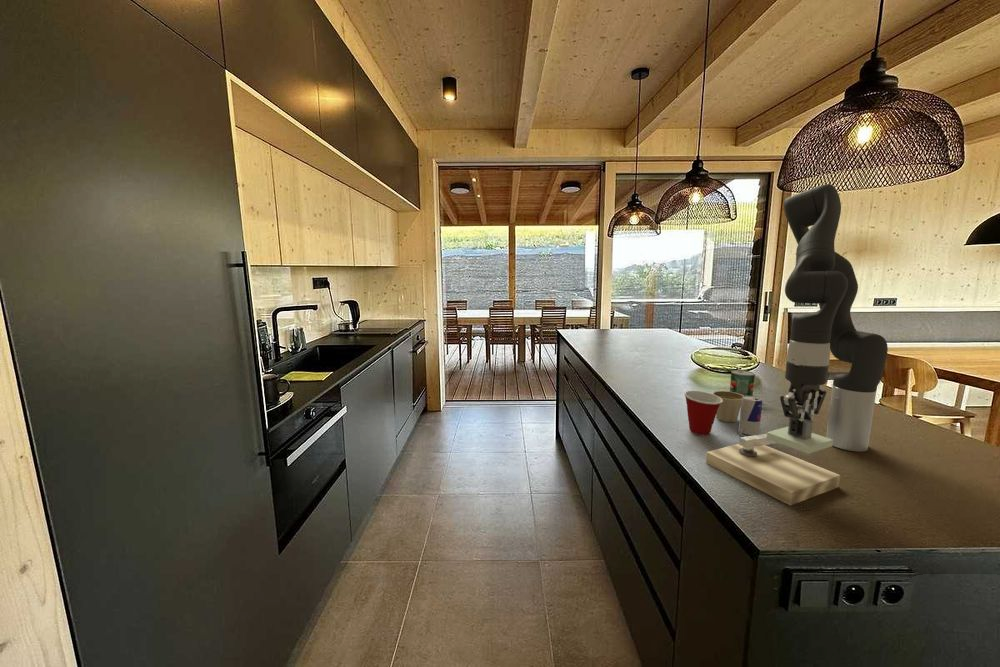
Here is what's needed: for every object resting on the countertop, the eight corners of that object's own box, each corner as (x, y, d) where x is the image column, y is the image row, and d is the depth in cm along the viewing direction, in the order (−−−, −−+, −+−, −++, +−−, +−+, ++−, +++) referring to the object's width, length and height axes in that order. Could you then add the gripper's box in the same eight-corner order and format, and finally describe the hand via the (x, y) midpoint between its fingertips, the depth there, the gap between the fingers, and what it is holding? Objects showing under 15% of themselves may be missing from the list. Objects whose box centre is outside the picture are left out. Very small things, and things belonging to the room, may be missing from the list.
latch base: (751, 450, 111) (752, 438, 110) (838, 487, 91) (840, 472, 91) (705, 462, 104) (706, 449, 103) (790, 505, 84) (792, 490, 84)
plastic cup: (716, 442, 116) (720, 403, 114) (678, 433, 122) (680, 396, 121) (722, 430, 124) (725, 394, 122) (686, 422, 131) (688, 388, 129)
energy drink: (762, 439, 117) (765, 401, 115) (742, 438, 118) (746, 400, 116) (754, 432, 122) (758, 395, 121) (735, 431, 124) (738, 394, 122)
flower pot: (712, 422, 131) (714, 397, 130) (709, 412, 140) (711, 389, 138) (744, 426, 128) (747, 400, 126) (739, 416, 136) (741, 392, 135)
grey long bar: (738, 449, 103) (739, 437, 102) (768, 445, 105) (769, 432, 105) (745, 453, 100) (747, 440, 100) (776, 449, 103) (777, 436, 102)
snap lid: (789, 431, 96) (792, 410, 96) (832, 446, 88) (835, 422, 87) (766, 438, 93) (768, 416, 92) (808, 453, 85) (811, 429, 84)
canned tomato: (757, 402, 150) (759, 375, 148) (736, 402, 150) (738, 375, 148) (744, 396, 158) (746, 369, 156) (724, 396, 158) (727, 369, 156)
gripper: (807, 354, 94) (800, 423, 96) (770, 360, 88) (763, 433, 91) (845, 361, 87) (835, 434, 90) (807, 368, 81) (798, 446, 84)
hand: (799, 433), depth 90 cm, fingers closed on snap lid, 2 cm apart
